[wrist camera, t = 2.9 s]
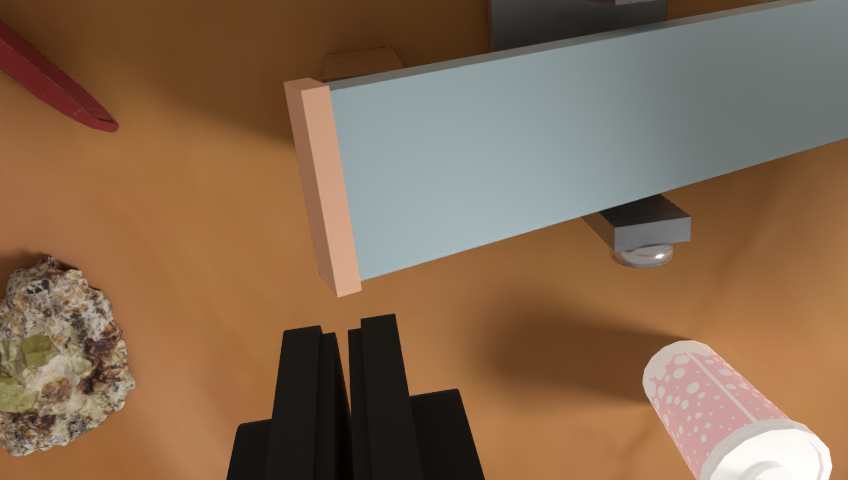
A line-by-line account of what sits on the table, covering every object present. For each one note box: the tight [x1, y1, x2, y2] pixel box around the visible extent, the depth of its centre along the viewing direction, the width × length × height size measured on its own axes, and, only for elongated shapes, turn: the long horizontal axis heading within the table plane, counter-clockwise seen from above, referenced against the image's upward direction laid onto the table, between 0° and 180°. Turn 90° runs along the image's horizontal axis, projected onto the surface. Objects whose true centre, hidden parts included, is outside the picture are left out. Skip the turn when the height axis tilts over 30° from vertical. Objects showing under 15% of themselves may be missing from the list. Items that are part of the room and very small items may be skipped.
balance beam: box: [283, 0, 848, 298], centre depth 25 cm, size 26×6×2 cm, turn 96°
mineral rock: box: [0, 256, 135, 456], centre depth 34 cm, size 11×4×8 cm
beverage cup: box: [642, 340, 832, 480], centre depth 33 cm, size 6×6×14 cm
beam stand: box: [323, 0, 691, 268], centre depth 28 cm, size 16×12×9 cm
